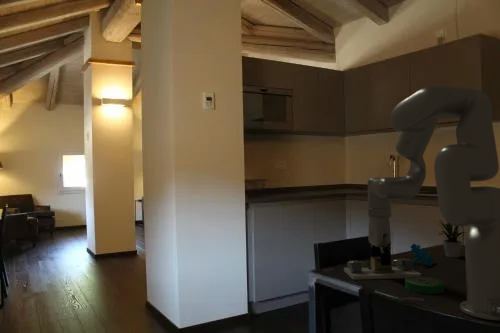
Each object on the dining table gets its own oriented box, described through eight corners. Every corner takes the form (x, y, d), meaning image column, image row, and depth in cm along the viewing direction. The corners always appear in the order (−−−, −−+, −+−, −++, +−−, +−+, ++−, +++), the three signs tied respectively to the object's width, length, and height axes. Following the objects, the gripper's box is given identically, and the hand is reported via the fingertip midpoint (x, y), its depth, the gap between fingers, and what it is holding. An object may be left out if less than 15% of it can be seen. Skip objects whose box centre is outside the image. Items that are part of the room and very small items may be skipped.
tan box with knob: (374, 272, 139) (374, 258, 139) (371, 269, 143) (370, 256, 143) (392, 271, 139) (391, 257, 139) (387, 269, 143) (387, 255, 143)
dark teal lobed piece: (425, 264, 147) (408, 242, 154) (414, 273, 150) (397, 251, 156) (440, 263, 154) (423, 242, 160) (429, 272, 157) (413, 252, 163)
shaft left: (366, 269, 143) (366, 259, 143) (370, 272, 139) (370, 262, 139) (346, 270, 143) (346, 260, 143) (350, 273, 138) (349, 263, 139)
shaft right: (397, 271, 139) (397, 261, 139) (389, 268, 143) (389, 259, 143) (414, 269, 141) (414, 260, 141) (406, 267, 145) (406, 257, 145)
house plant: (423, 254, 171) (422, 216, 171) (444, 251, 178) (443, 214, 178) (454, 261, 159) (453, 219, 159) (476, 256, 165) (474, 216, 165)
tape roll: (449, 288, 124) (448, 279, 124) (438, 297, 115) (438, 287, 115) (412, 282, 131) (411, 274, 131) (399, 290, 123) (399, 281, 123)
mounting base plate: (421, 277, 135) (421, 271, 135) (353, 279, 135) (353, 273, 135) (406, 269, 147) (406, 263, 147) (343, 270, 147) (343, 265, 147)
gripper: (361, 210, 150) (362, 257, 150) (377, 215, 133) (378, 267, 132) (381, 210, 150) (382, 256, 150) (399, 215, 133) (401, 267, 133)
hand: (380, 261), depth 141 cm, fingers open, 9 cm apart
